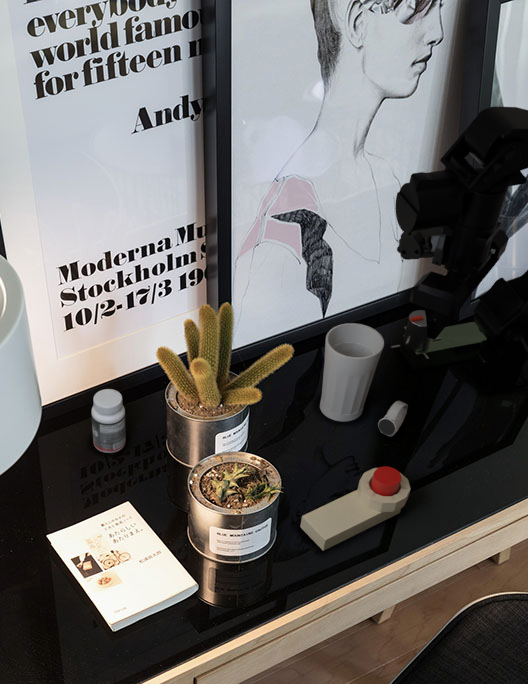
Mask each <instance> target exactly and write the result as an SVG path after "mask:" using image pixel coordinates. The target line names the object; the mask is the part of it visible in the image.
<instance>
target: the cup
mask: <svg viewBox="0 0 528 684" xmlns="http://www.w3.org/2000/svg"><path fill="white" fill-rule="evenodd" d="M384 346H385V340H384V338H383V335H382V334H381V333H380V332H379V331H377V330H376V329H375V328H373V327H371V326H370V325H369V326H368V325H365V324H363V323H355V322H351V323H350V322H348V323H342V324H338V325H336V326H333V327H332V328H331V329H330V330H329V331H328V332H327V333H326V335H325V344H324V365H323V375H322V385H321V386H322V388H321V396H320V403H319V409H320V411H321V413H322V414H323V415H324V416H325V417H327V418H328V419H331V420H332V421H336V422H351V421H355V420H356V419H358V418H360V416H361V415H362V414H363V411H364V407H365V403H366V400H367V397H368V393H369V391H370V387H371V385H372V381H373V378H374V375H375V373H376V369H377V366H378V364H379V361H380V358H381V355H382V353H383V351H384Z"/></svg>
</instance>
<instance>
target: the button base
mask: <svg viewBox="0 0 528 684" xmlns="http://www.w3.org/2000/svg"><path fill="white" fill-rule="evenodd" d="M378 468H379V467H374V468H371V469H369V470H367V471H365V472H363V474H362V476H361V477H360V479H359V482H358V486H357V489H356V490H354V491H351V492H349V493H347V494H345V495H343V496H340V497H339V498H337V499H335V500H333V501H330V502H328V503H326V504H325V505H322V506H320V507H318V508H315V509H314V510H312V511H310V512H308V513H305V514H303V515H302V516H301V519H300V521H301V522H300V526H299V527H300V528H301V530H302V531H303V532H304V533H305V534H306V535H308V537H309V538H310V539H311V540H312V541H313V542H314V543H315V544H316V545H317V546H318V547H319V548H320V549H321V550H322V551H323V552H324V551H327V550H328V549H330V548H333V547H334V546H336V545H338V544H340V543H342V542H344V541H346V540H348V539H350V538H352V537H354V536H356V535H358V534H360V533H362V532H365V531H366V530H368V529H370V528H372V527H374V526H376V525H378V524H380V523H382V522H384V521H386V520H388V519H391V518H393V517H395V516H396V515H399V514H400V513H401V511H402V508H404V507H405V505H406V503H407V501H408V499H409V496H410V492H411V485H410V482H409V479H408V478H407V477H406V476H405V475H404V474H402V473H401V472H400V471H398V472H399V473H400V474H401V482H400V485H399V489H398V491H397V493H396V494H394V495H392V496H381V495H378V494H376V493H375V492H374V491H373V490H372V488H371V482H372V478H373V474H374V471H375V470H376V469H378Z"/></svg>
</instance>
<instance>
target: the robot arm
mask: <svg viewBox="0 0 528 684" xmlns="http://www.w3.org/2000/svg"><path fill="white" fill-rule="evenodd" d="M469 155H471V156H472V158H474V159H475V161H476V162H477V163H478V164H479V165H481V167H474V166H473V165H472V164H471V163H470V162H469V161H468V160H467V159H466V157H467V156H469ZM439 163H440V164H441V165H442V166H443V167H444V169H441V170H436V171H430V172H425V171H419V172H413V173H412V174H411V175H410V177H409V181H408V182H405V183H404V184H402V186H401V187H400V189H399V191H398V192H396V196H395V197H396V198H395V217H396V221H397V225H398V226H399V229H400V230H401V231H402V233H401V234H400V238H399V239H398V247H396V251H397V252H398V253H399V254H400V257H401V258H402V259H403V260H405V261H406V260H407V261H408V260H409V261H410V260H419V259H431V258H432V260H431V264H432V265H436V266H437V267H441V266H443V268H444V269H445V270H446V271H448V272H447V273H446V274H442V273H438V272H436V271H435V272H434V271H432V270H430V271H429V272H427V273H425V274H423V275H422V276H421V277H420V278H419V279H418V280H417V282H416V283H415V284H414V285H413V287H412V289H411V293H410V297H409V301H410V303H411V304H413V305H415V306H418V307H421V308H423V309H424V311H425V314H426V323H427V335H428V337H429V338H431V339H436V338H437V337H438V335H439V334H440V333H441V332H442V330H443V329H444V328H445V327H448V325H449V323H450V322H451V321H452V320H453V319H454V317H455V316H456V315H457V314H458V312H459V311H460V310H461V309H462V307H463V306H464V304H465V302H466V301H467V300H468V299H469V297H470V296H471V295H472V294H473V293H474V292H475V290H476V289H477V287H478V286H479V285H480V284H481V283H482V281H484V279H485V278H486V277H487V275H488V274H489V273H490V272H491V271H492V269H493V268H494V267H495V266H496V264H497V263H498V262H499V260H500V259H501V256H502V255H503V254H504V253H505V251H506V249H507V245H508V242H509V239H510V238H509V237H508V235H507V233H506V231H505V230H503V229H500V228H501V226H502V222H501V221H499V219H500V216H501V213H502V210H503V207H504V204H505V200H506V196H507V194H508V191H509V189H510V188H509V187H513V186H520V185H525V184H526V183H527V181H528V178H527V176H525V175H524V173H522V171H524V170H527V169H528V109H525V108H521V107H517V106H490V107H487V108H484V109H482V110H481V111H479V112H478V115H477V116H475V118H474V119H473V120H472V121H471V123H470V124H469V125H468V126H467V127H466V128H465V130H464V131H462V133H461V134H460V135H459V137H458V138H457V139H456V140H455V141H454V143H452V145H451V146H450V147H449V148H448V149H447V151H445V153H444V154H443V155H442V157H440V160H439ZM492 250H494V253H493V251H492ZM478 300H479V302H478V303H477V304H476V305H475V307H474V309H473V322H475V324H476V325H477V326H478V327H479V331H480V332H482V333H483V334H484V336H485V337H486V338H487V339H486V340H483V341H482V343H481V346H480V349H479V351H477V352H476V354H475V357H474V358H473V360H472V363H470V364H467V365H466V367H465V370H466V371H467V372H468V374H469V375H470V376H471V378H472V379H473V380H474V382H475V383H476V384H477V385H478V387H479V388H480V390H481V391H482V392H483V394H493V393H498V392H502V391H507V390H513V389H518V388H522V387H523V386H524V385H525V382H524V381H523V379H522V378H521V377H520V375H521V373H522V370H523V368H524V365H525V364H526V362H527V361H528V269H526V271H525V272H524V273H523V274H521V275H519V276H518V277H515V278H512V279H509V280H506V279H505V278H504V277H499V278H498V279H497V280H495V282H494V283H493V284H492V285H491V287H490V288H489V289H488V290H486V292H485V293H484V294H482V295H481V296H479V297H478Z"/></svg>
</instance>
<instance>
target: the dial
mask: <svg viewBox="0 0 528 684" xmlns="http://www.w3.org/2000/svg"><path fill="white" fill-rule="evenodd" d="M405 327H406V330H405V331H404V334H403V335H404V339H403V343H404V345H405V346H406V347H407V348H409V349H411V350H415V351H422V350H425V349H427V348H428V347H429V345H430V341H431V338H429V337H428V335H427V323H426V314H425V309H424V310H423V309H419V310H413V311H412V312H411V313H410V314H409V315H408V320H407V324H406V326H405Z"/></svg>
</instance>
